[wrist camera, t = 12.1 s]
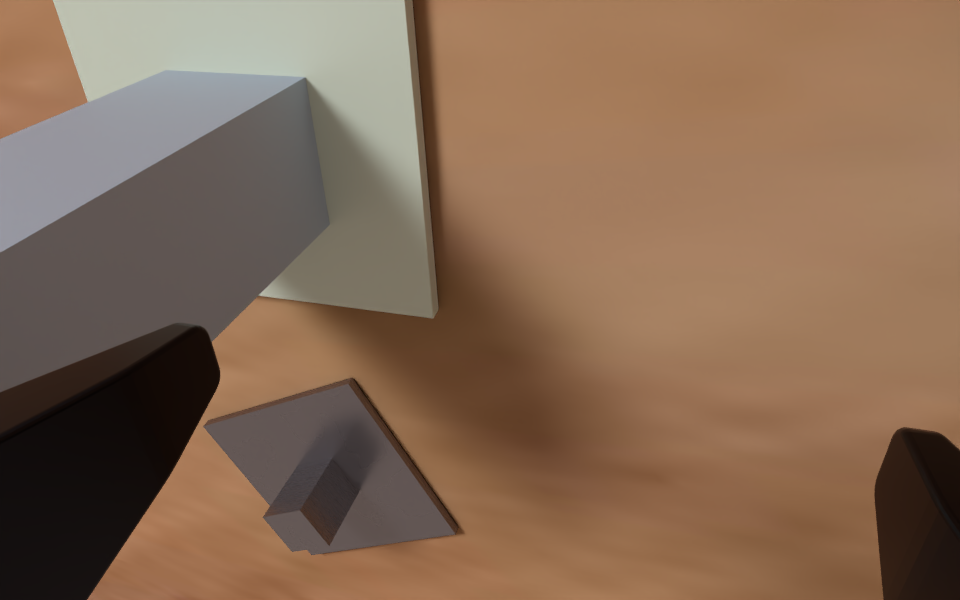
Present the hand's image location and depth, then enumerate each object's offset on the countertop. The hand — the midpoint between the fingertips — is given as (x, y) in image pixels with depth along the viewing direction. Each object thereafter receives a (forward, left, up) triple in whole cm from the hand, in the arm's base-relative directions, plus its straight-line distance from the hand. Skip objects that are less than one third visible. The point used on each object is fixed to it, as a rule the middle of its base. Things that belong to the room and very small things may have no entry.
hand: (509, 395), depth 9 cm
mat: (+12, +2, -13) cm, 18 cm away
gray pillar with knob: (+12, +2, -12) cm, 17 cm away
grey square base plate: (+12, +18, -13) cm, 25 cm away
